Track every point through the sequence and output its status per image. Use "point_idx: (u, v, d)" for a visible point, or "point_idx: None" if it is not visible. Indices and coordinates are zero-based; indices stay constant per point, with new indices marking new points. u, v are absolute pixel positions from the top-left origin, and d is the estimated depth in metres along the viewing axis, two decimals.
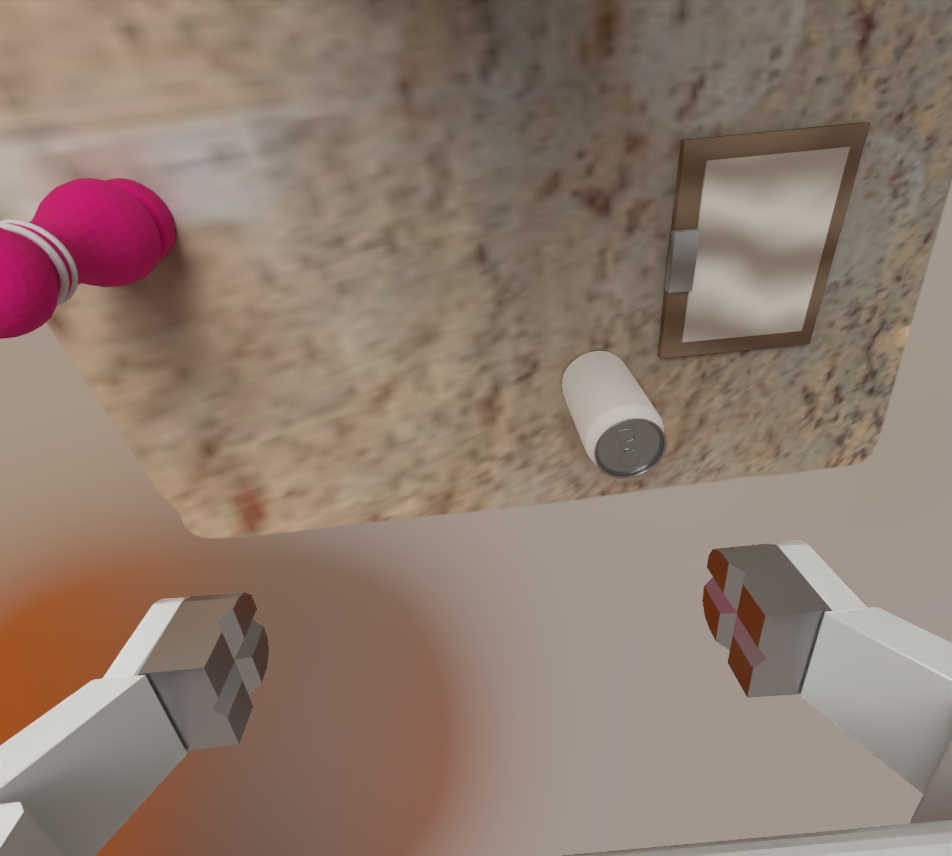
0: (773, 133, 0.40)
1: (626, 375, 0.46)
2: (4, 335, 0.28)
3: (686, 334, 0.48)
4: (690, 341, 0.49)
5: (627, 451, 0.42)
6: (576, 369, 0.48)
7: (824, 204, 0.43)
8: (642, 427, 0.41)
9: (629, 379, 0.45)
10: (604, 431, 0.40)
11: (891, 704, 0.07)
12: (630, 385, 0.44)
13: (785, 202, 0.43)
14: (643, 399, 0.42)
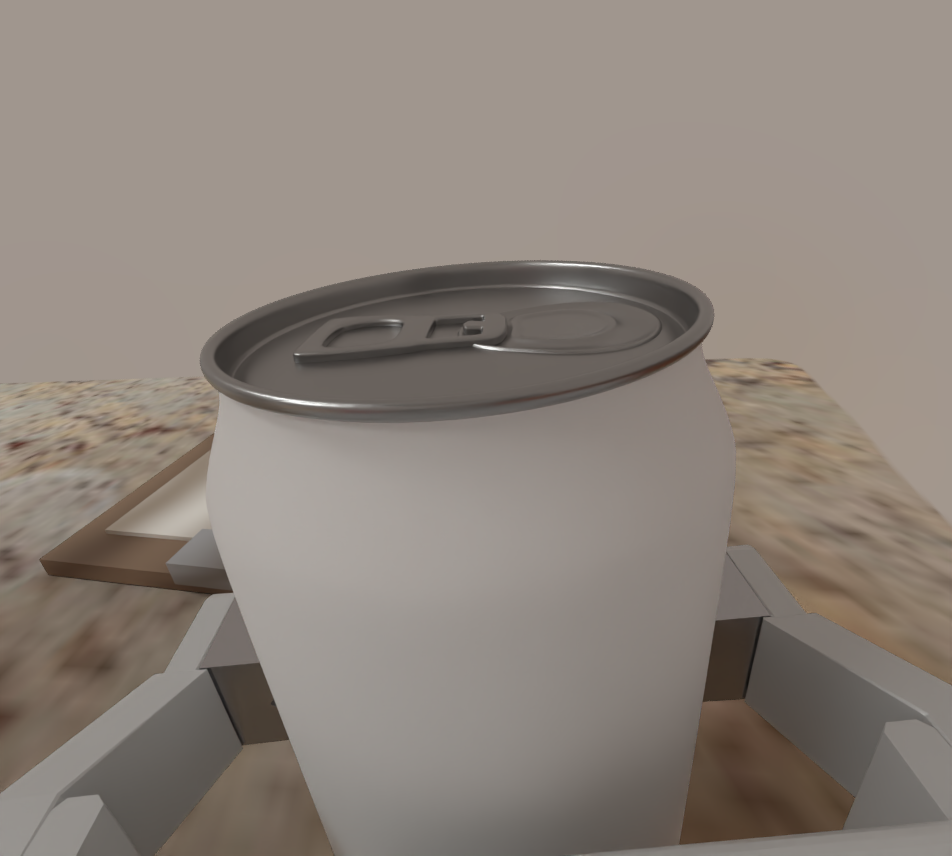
0: (163, 470, 0.27)
1: None
2: None
3: None
4: None
5: (490, 335, 0.06)
6: None
7: None
8: (355, 316, 0.08)
9: None
10: (219, 391, 0.05)
11: (826, 710, 0.07)
12: None
13: None
14: None
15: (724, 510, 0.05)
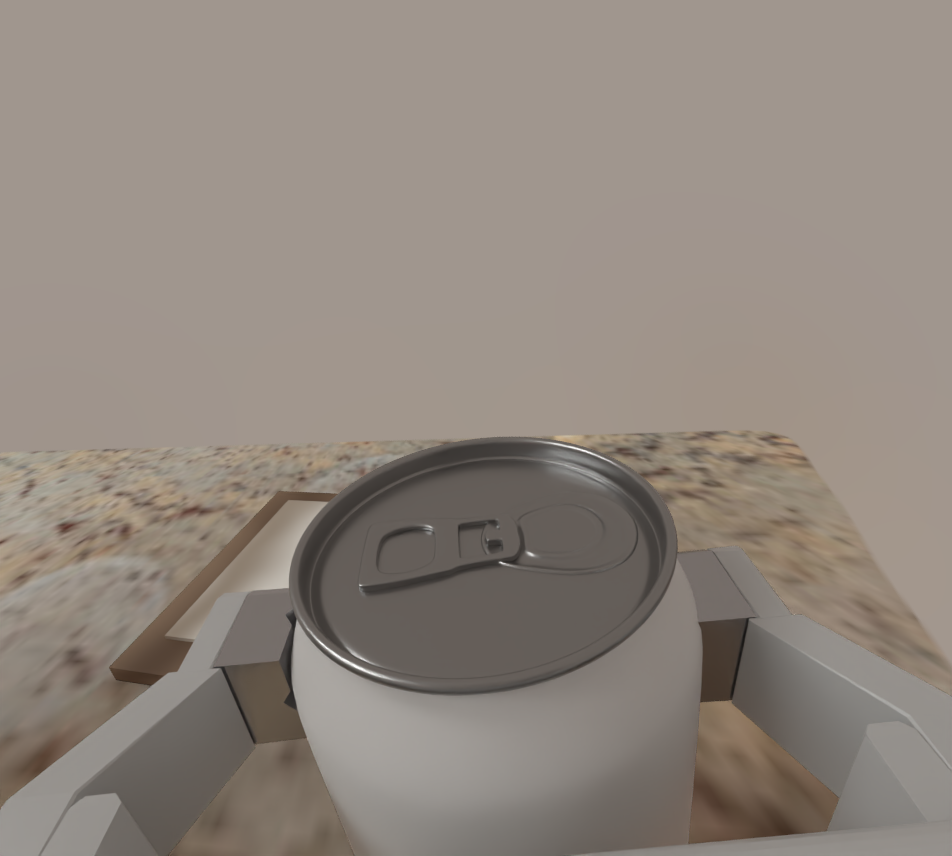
0: (208, 565, 0.29)
1: None
2: None
3: None
4: None
5: (508, 543, 0.08)
6: None
7: None
8: (385, 511, 0.09)
9: None
10: None
11: (811, 711, 0.07)
12: None
13: None
14: None
15: (698, 682, 0.07)
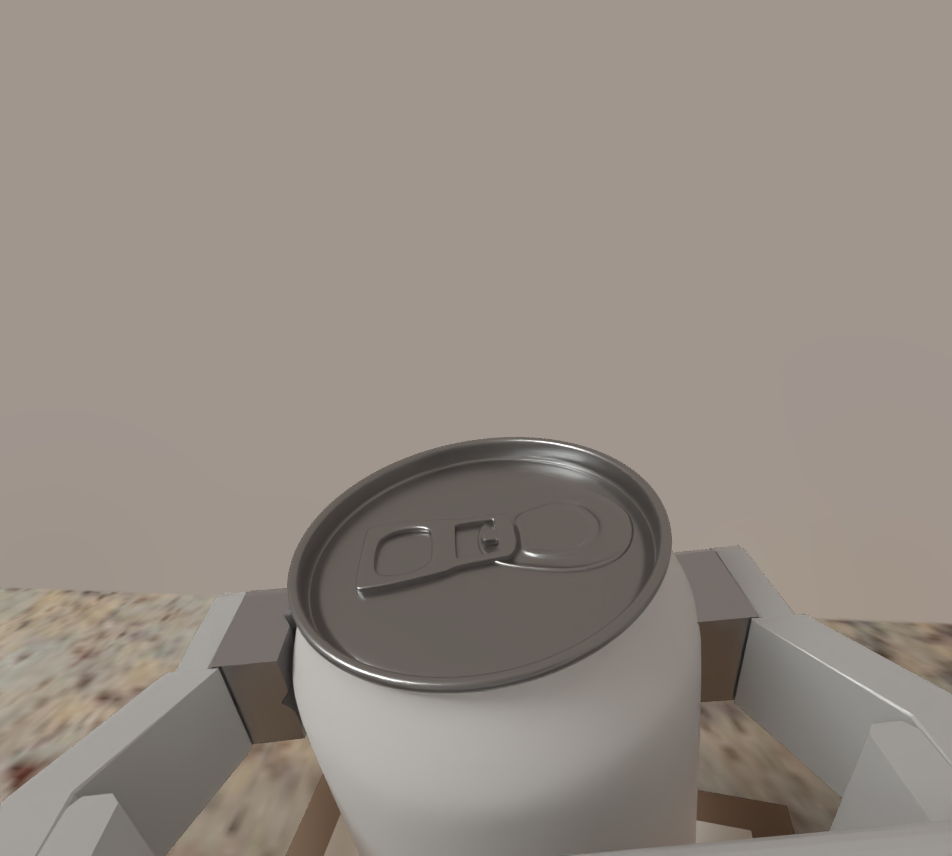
0: None
1: None
2: None
3: None
4: None
5: (504, 542, 0.08)
6: None
7: None
8: (383, 514, 0.09)
9: None
10: None
11: (814, 711, 0.07)
12: None
13: None
14: None
15: (697, 676, 0.07)
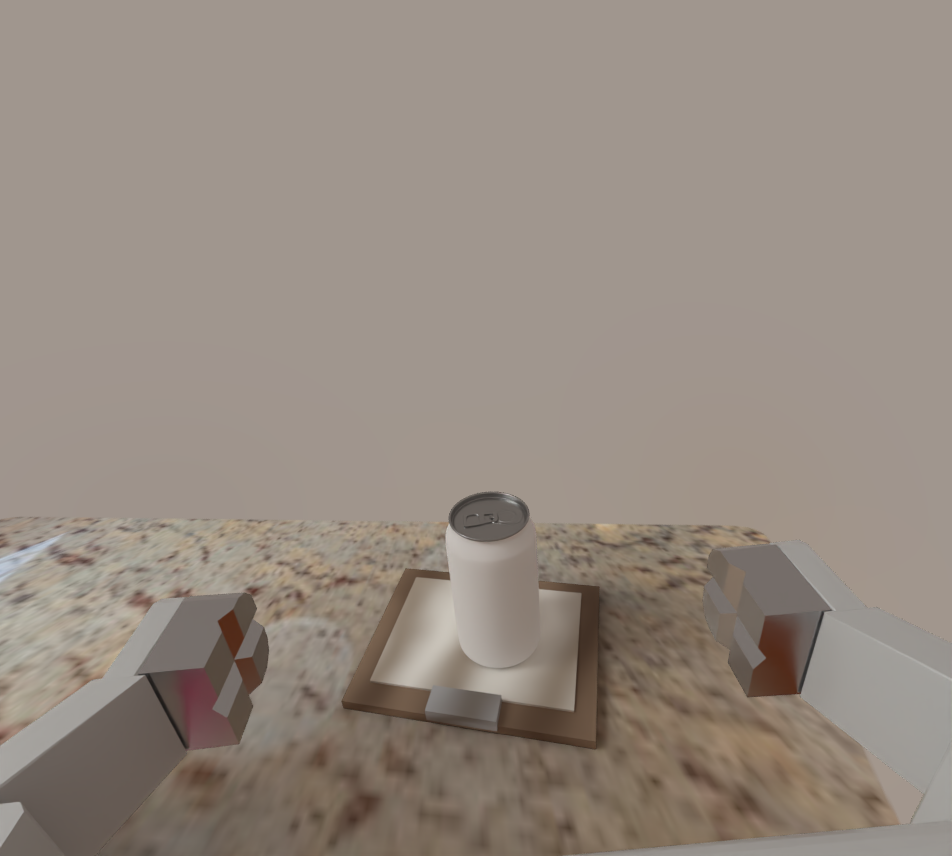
0: (377, 628, 0.44)
1: None
2: None
3: (563, 705, 0.37)
4: (574, 700, 0.37)
5: (495, 518, 0.37)
6: (464, 639, 0.40)
7: None
8: (465, 510, 0.38)
9: None
10: (459, 536, 0.35)
11: (891, 704, 0.07)
12: None
13: (441, 615, 0.45)
14: None
15: (531, 546, 0.36)
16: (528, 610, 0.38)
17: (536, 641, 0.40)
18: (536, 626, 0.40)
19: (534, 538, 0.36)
